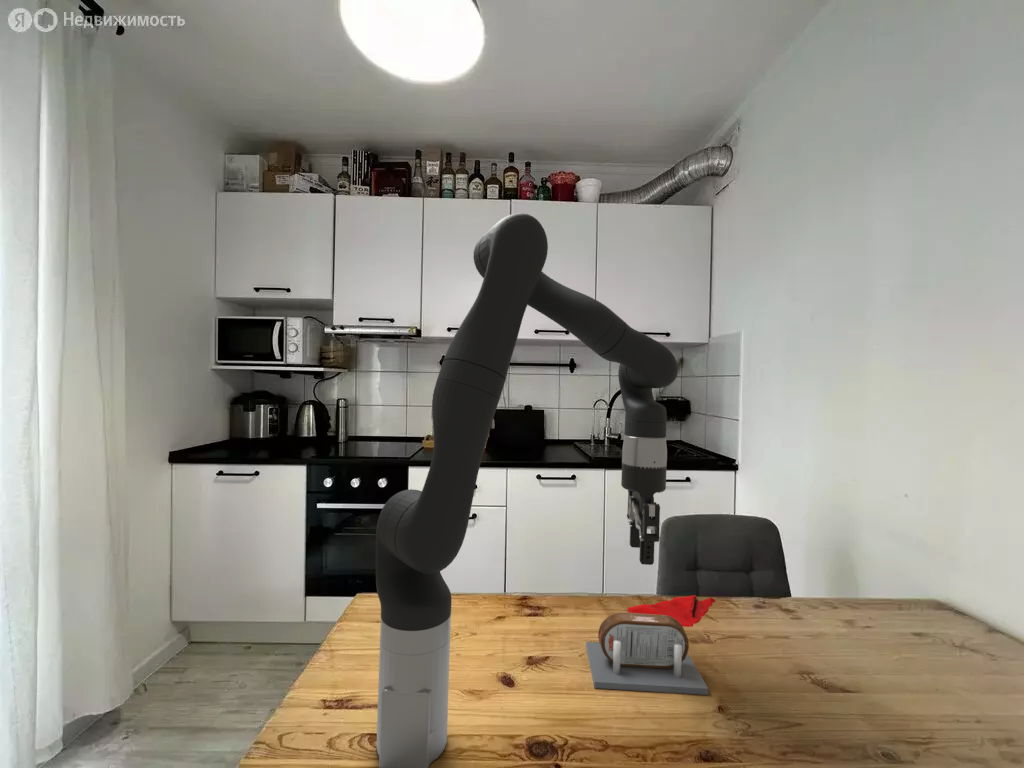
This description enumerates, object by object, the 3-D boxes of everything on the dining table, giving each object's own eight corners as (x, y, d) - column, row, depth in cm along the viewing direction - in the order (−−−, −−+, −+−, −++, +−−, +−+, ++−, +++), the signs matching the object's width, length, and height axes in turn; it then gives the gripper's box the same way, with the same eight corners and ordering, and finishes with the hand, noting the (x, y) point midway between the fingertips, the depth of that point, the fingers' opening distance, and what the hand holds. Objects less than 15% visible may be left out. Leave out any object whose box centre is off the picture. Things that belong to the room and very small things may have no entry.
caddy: (708, 695, 75) (709, 657, 75) (594, 688, 76) (595, 650, 76) (684, 652, 87) (685, 620, 87) (586, 647, 88) (587, 614, 88)
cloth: (629, 633, 95) (629, 622, 95) (604, 602, 108) (604, 592, 108) (746, 626, 99) (746, 615, 99) (708, 597, 113) (708, 588, 113)
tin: (684, 662, 83) (685, 613, 83) (690, 673, 79) (691, 622, 79) (597, 657, 83) (598, 609, 83) (599, 667, 80) (601, 617, 80)
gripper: (677, 469, 76) (674, 572, 75) (655, 457, 90) (652, 543, 90) (630, 467, 76) (626, 569, 76) (615, 455, 90) (612, 540, 90)
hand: (640, 554), depth 83 cm, fingers open, 8 cm apart
